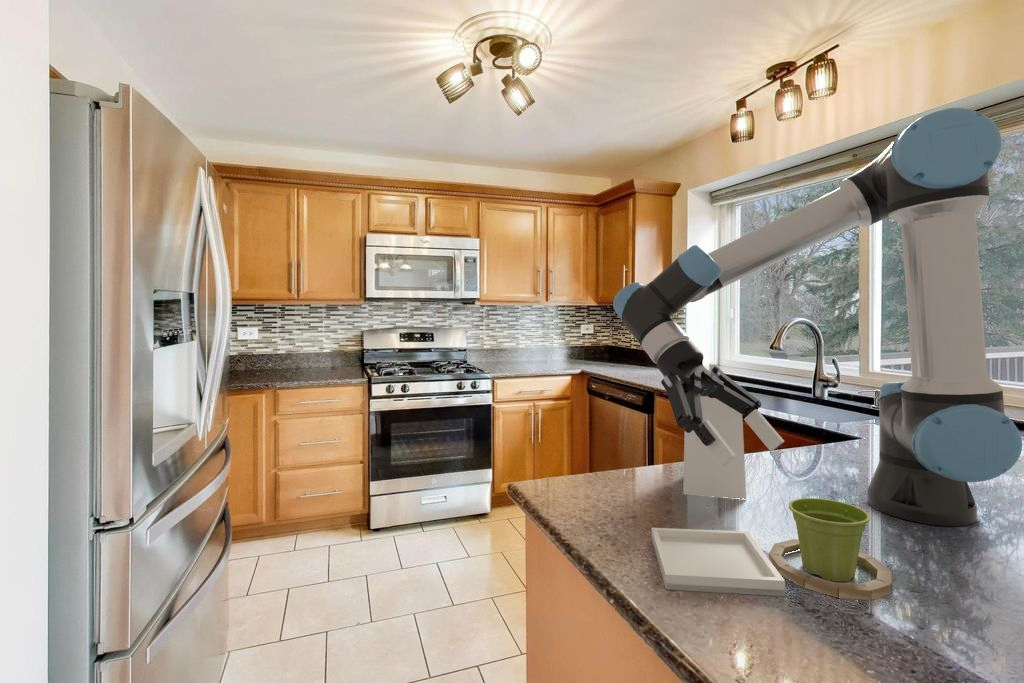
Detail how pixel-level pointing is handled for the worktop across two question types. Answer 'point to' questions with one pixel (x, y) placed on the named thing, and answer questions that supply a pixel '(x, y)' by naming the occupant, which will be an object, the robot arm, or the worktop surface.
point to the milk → (700, 463)
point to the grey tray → (715, 562)
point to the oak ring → (840, 590)
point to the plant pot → (829, 536)
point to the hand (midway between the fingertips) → (754, 453)
